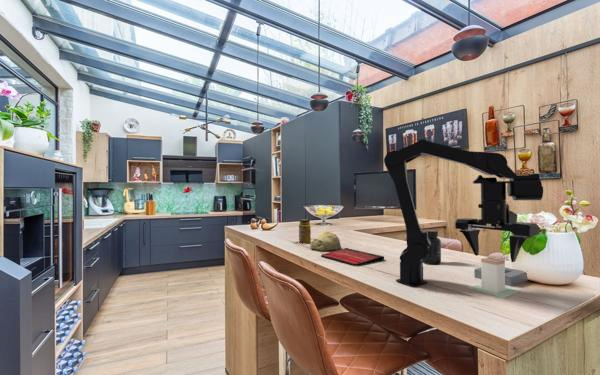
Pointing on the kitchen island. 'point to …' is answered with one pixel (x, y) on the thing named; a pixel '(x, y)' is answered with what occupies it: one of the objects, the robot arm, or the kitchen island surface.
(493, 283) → the plug
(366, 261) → the binder
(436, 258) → the supplement bottle
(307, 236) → the condiment
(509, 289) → the mat
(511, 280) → the grey square socket block
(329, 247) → the tan lumpy mound
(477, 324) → the kitchen island surface
